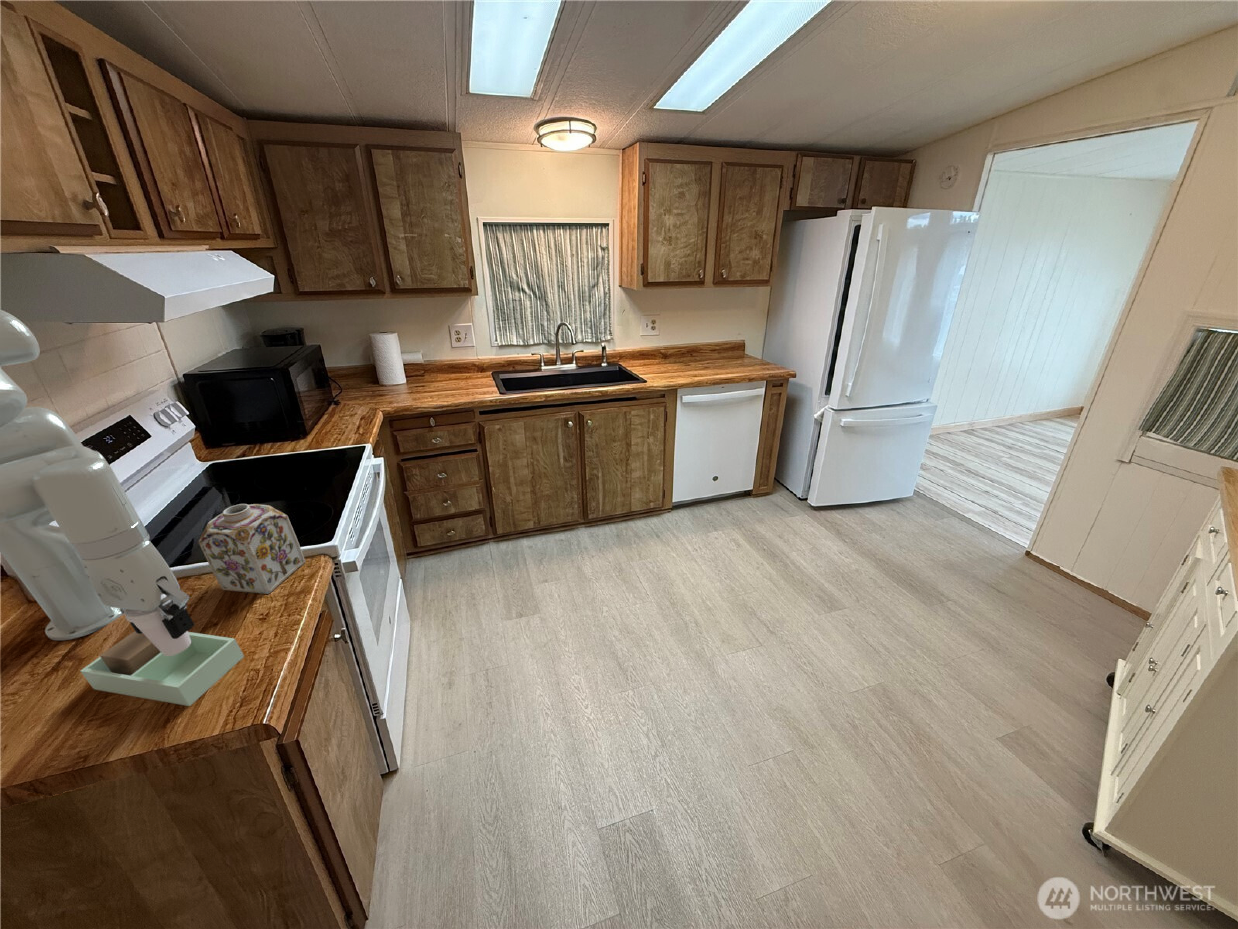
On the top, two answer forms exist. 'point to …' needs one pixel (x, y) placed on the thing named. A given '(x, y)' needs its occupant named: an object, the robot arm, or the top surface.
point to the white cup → (158, 630)
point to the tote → (172, 672)
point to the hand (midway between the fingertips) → (166, 629)
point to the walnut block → (130, 654)
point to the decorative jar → (251, 548)
